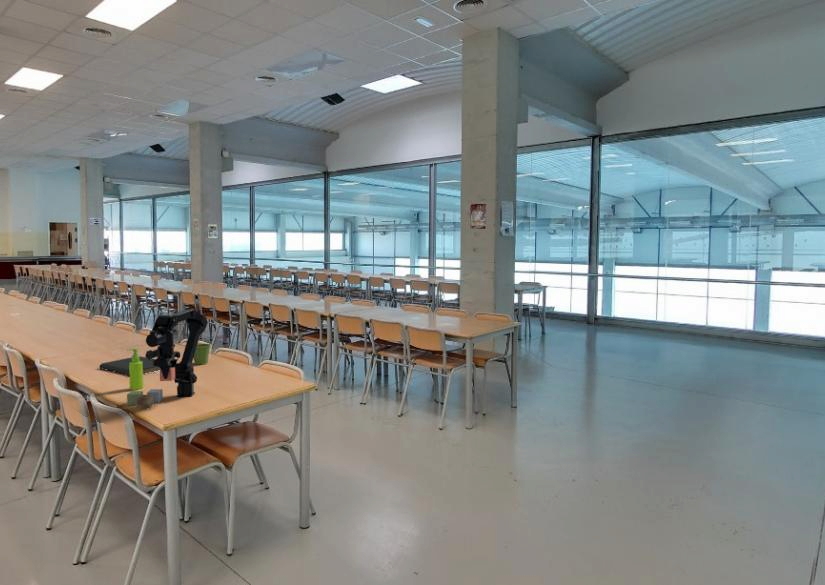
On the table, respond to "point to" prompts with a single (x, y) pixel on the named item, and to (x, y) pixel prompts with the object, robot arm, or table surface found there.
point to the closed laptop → (123, 365)
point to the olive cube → (133, 397)
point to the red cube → (170, 375)
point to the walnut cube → (144, 401)
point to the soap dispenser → (136, 371)
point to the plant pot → (201, 353)
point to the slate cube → (156, 394)
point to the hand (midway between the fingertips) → (167, 377)
